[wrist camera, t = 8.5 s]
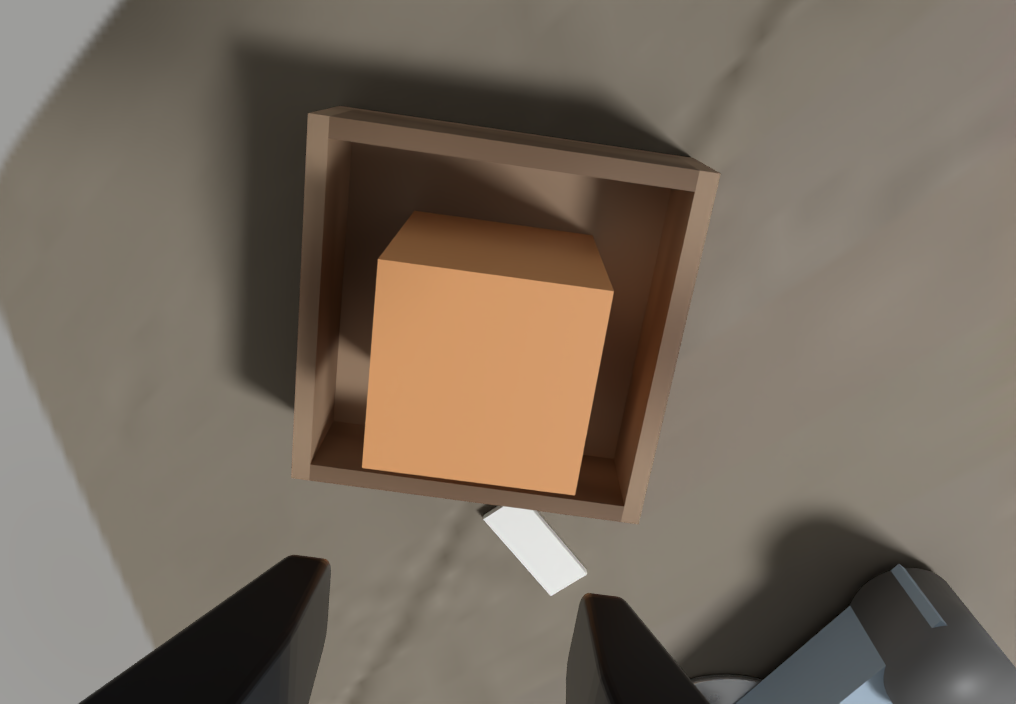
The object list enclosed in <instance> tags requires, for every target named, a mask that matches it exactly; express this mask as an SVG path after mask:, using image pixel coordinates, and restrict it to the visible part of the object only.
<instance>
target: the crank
mask: <svg viewBox="0 0 1016 704" xmlns="http://www.w3.org/2000/svg"><path fill="white" fill-rule="evenodd" d="M1015 703H1016V668H1015V666H1014V665H1013V664H1012V663H1011V661H1010V660H1009V659H1008V658H1007V656H1006V655H1005V654H1004V653H1003V652H1002V650H1001V649H1000V648H999V647H998V645H997V644H996V643H995V642H994V640H993V639H992V638H991V637H990V635H989V634H988V633H987V632H986V631H985V629H984V628H983V627H982V626H981V624H980V623H979V622H978V621H977V619H976V618H975V617H974V616H973V614H972V613H971V612H970V611H969V609H968V608H967V607H966V606H965V605H964V603H963V602H962V601H961V600H960V598H959V597H958V596H957V595H956V593H955V592H954V591H953V590H952V588H951V587H950V586H949V585H948V584H947V582H946V581H945V580H944V579H942V578H941V577H940V576H938V575H937V574H935V573H933V572H930V571H927V570H924V569H918V568H904V567H903V566H901V565H900V564H898V565H897V566H896V567H894V568H893V569H892V570H891V571H888V572H885V573H883V574H881V575H878V576H876V577H875V578H873V579H871V580H870V581H869V582H867V583H866V584H865V585H864V586H863V587H862V588H861V589H860V590H859V591H858V592H857V593H856V595H855V596H854V598H853V600H852V602H851V604H850V606H849V607H848V608H847V609H845V610H844V611H843V612H842V613H841V614H840V615H838V616H837V617H836V618H835V619H834V620H833V621H831V622H830V623H829V624H828V625H827V626H826V627H824V628H823V629H822V630H821V631H820V632H819V633H817V634H816V635H815V636H814V637H813V638H812V639H810V640H809V641H808V642H807V643H806V644H805V645H803V646H802V647H801V648H800V649H799V650H798V651H796V652H795V653H794V654H793V655H792V656H791V657H789V658H788V659H787V660H786V661H785V662H784V663H782V664H781V665H780V666H779V667H778V668H776V669H775V670H774V671H773V672H772V673H771V674H769V675H768V676H767V677H766V678H765V679H764V680H762V681H761V682H760V683H759V684H758V685H757V686H755V687H754V688H753V689H752V690H751V691H750V692H748V693H747V694H746V695H745V696H744V697H743V698H741V699H740V700H739V701H738V702H737V703H736V704H1015Z"/></svg>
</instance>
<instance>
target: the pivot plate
mask: <svg viewBox="0 0 1016 704" xmlns="http://www.w3.org/2000/svg"><path fill="white" fill-rule="evenodd" d="M690 680H691V681H692V682H693V683H694V684H695V686H696V687H697V688H698V689H699V691H700V692H701V693H702V694H703V695H704V697H705V698H706V699H707V700H708V701H709V703H710V704H736V703H737V702H738V701H739V700H740V699H741V698H743V697H744V696H745V695H746V694H747V693H748V692H750V691H751V690H752V689H753V688H754V687H755V686H757V685H758V684H759V683H760V682H761V681H762V680H761V679H758V678H754V677H749V676H743V675H731V674H724V675H709V676H702V677H697V678H693V679H690Z"/></svg>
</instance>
